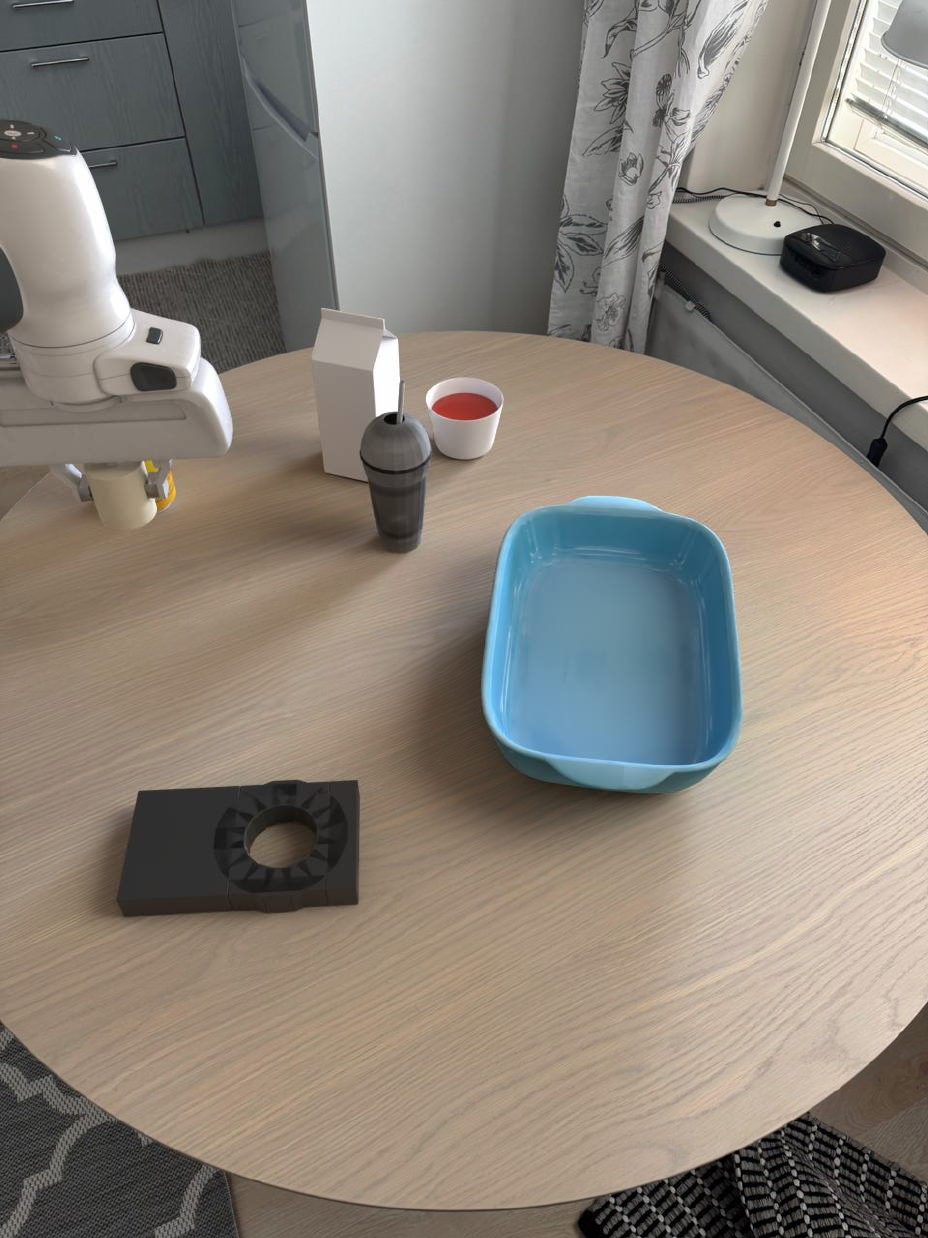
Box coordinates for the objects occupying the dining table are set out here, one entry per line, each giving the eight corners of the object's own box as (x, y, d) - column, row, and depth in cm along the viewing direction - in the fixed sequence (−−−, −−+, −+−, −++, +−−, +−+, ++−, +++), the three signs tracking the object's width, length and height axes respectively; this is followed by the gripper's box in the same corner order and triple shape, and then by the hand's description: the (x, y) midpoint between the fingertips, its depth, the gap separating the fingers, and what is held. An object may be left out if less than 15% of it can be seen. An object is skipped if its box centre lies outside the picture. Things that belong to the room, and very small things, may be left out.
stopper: (95, 532, 85) (72, 466, 80) (105, 497, 88) (84, 431, 83) (152, 529, 85) (133, 463, 80) (160, 494, 88) (142, 428, 83)
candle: (412, 449, 119) (410, 403, 114) (455, 413, 124) (455, 369, 120) (474, 475, 115) (474, 430, 111) (516, 438, 121) (518, 393, 116)
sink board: (123, 921, 76) (115, 905, 74) (145, 804, 84) (138, 787, 82) (358, 908, 77) (356, 892, 75) (360, 793, 85) (357, 776, 83)
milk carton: (380, 485, 114) (370, 335, 100) (324, 473, 116) (306, 324, 102) (403, 451, 119) (396, 303, 105) (348, 439, 120) (334, 292, 107)
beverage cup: (394, 509, 111) (385, 348, 97) (447, 534, 108) (446, 372, 94) (352, 544, 107) (336, 382, 93) (406, 571, 104) (398, 408, 90)
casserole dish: (504, 534, 108) (506, 482, 103) (712, 551, 106) (725, 498, 101) (465, 823, 83) (465, 772, 77) (738, 851, 81) (757, 801, 76)
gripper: (-75, 380, 73) (-10, 525, 82) (209, 369, 74) (239, 514, 84) (-50, 335, 77) (8, 478, 87) (218, 326, 78) (245, 468, 88)
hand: (123, 496), depth 85 cm, fingers closed on stopper, 5 cm apart
